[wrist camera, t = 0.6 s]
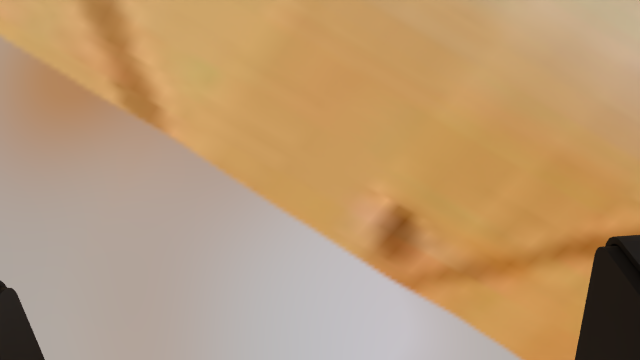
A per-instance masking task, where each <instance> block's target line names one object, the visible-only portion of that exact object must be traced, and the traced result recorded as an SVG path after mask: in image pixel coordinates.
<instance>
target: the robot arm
mask: <svg viewBox="0 0 640 360" xmlns="http://www.w3.org/2000/svg"><path fill="white" fill-rule="evenodd" d="M0 360H45V359H44V357H43V354H42V352H41V350H40V347H39V345H38V342H37V340H36V338H35V335H34V333H33V331H32V328H31V326H30V324H29V321H28V319H27V317H26V314H25V312H24V309H23V307H22V305H21V302H20V300H19V298H18V295H17V293H16V292H15V291H14V290H13V289H12V288H7V287H6V286H5V284H4V283H3V282H2V281H0ZM575 360H640V235H632V236H617V237H611V238H609V240H608V241H607V243H606V246H605V247H599V248H598V249H597V250H596V253H595V257H594V262H593V267H592V272H591V278H590V283H589V288H588V293H587V299H586V304H585V309H584V314H583V320H582V325H581V330H580V336H579V341H578V346H577V351H576V357H575Z"/></svg>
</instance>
